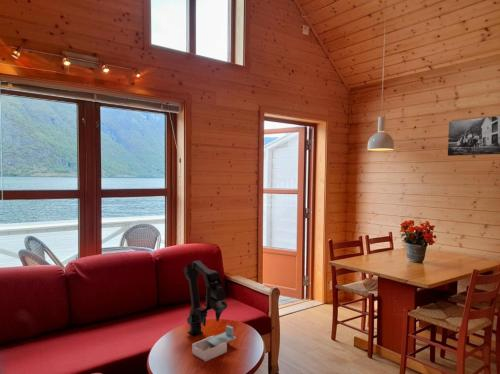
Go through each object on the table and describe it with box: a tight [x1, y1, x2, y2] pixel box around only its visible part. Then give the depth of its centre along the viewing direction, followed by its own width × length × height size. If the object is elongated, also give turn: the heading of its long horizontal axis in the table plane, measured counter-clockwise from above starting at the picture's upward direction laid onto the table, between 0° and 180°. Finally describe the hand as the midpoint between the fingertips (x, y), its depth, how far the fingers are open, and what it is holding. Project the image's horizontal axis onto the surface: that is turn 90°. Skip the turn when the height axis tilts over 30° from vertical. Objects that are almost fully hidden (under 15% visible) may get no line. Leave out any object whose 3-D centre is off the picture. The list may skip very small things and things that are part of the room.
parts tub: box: [191, 335, 228, 363], centre depth 182 cm, size 11×14×5 cm
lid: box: [206, 325, 237, 346], centre depth 187 cm, size 9×14×5 cm, turn 136°
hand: (211, 323), depth 189 cm, fingers open, 9 cm apart
